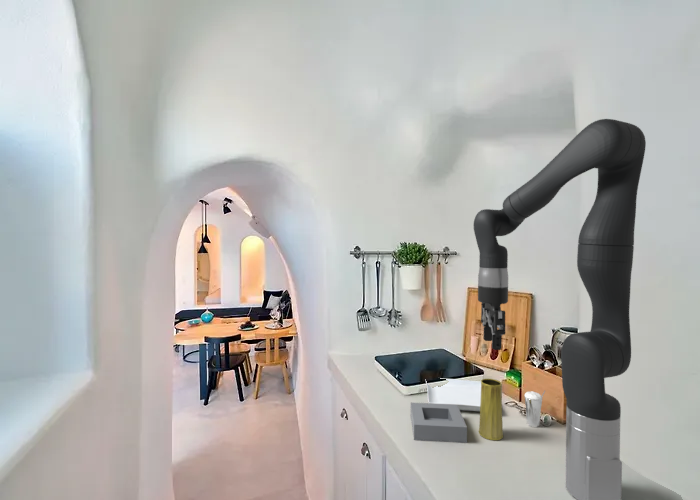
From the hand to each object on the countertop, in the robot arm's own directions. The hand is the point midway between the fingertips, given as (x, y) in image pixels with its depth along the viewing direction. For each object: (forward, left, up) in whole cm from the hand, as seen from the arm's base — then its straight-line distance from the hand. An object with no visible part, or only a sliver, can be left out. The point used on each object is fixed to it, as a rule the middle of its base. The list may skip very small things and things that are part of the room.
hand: (492, 344), depth 98 cm
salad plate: (+22, +4, -25) cm, 33 cm away
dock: (+2, +14, -24) cm, 28 cm away
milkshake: (+7, -14, -24) cm, 29 cm away
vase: (0, 0, -25) cm, 25 cm away
